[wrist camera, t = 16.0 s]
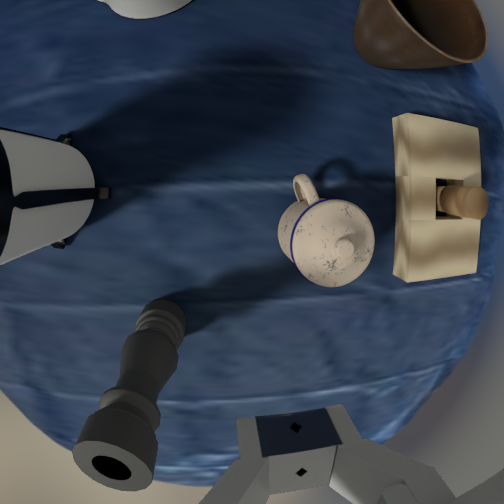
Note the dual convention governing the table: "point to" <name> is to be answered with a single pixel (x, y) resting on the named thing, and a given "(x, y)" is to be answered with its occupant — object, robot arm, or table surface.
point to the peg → (462, 201)
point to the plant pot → (419, 33)
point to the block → (433, 197)
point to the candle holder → (133, 403)
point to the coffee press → (42, 192)
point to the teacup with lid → (325, 236)
